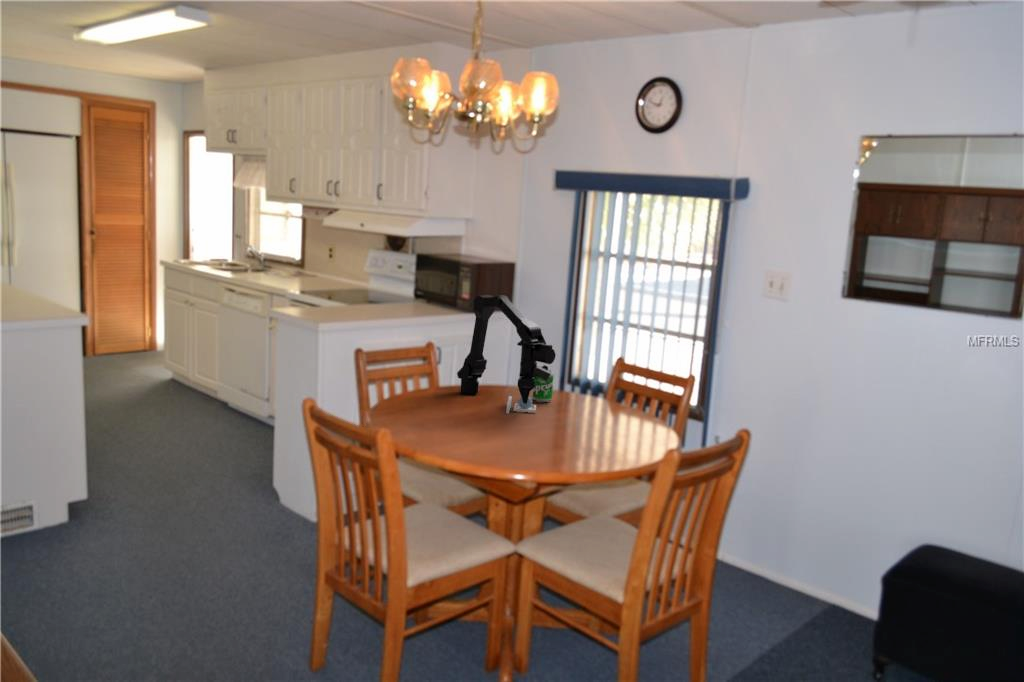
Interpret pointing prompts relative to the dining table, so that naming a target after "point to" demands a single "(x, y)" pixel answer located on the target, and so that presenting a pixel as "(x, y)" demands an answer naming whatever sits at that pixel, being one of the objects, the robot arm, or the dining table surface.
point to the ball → (525, 406)
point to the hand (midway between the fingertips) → (525, 400)
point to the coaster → (529, 410)
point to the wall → (509, 404)
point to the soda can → (543, 389)
